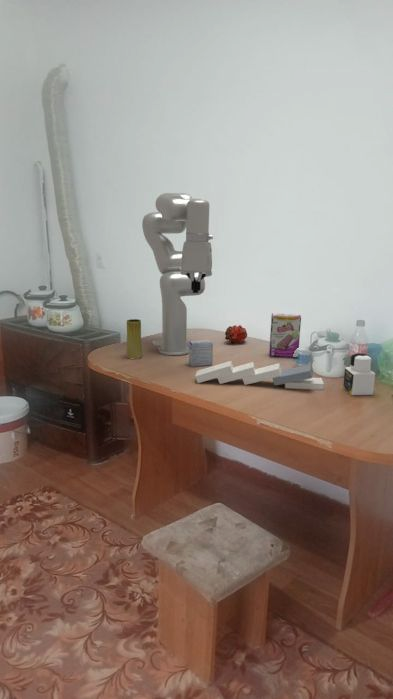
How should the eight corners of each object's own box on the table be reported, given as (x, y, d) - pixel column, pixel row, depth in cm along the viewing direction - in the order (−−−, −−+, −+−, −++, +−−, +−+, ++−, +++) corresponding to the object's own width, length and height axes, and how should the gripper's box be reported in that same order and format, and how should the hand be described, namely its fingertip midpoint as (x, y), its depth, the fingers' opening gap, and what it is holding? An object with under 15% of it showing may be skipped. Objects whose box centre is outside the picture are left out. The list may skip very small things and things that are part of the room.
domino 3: (242, 377, 167) (278, 369, 163) (244, 371, 173) (279, 363, 169) (244, 384, 168) (280, 376, 164) (247, 378, 173) (281, 370, 170)
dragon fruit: (222, 348, 218) (243, 348, 225) (235, 340, 211) (256, 340, 219) (217, 330, 220) (238, 330, 228) (229, 321, 214) (250, 322, 222)
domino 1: (195, 376, 168) (230, 365, 166) (197, 370, 174) (231, 360, 172) (197, 383, 169) (232, 372, 166) (199, 377, 174) (233, 367, 172)
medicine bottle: (342, 387, 166) (346, 351, 163) (364, 387, 167) (368, 351, 164) (351, 395, 159) (354, 358, 156) (373, 395, 160) (377, 357, 157)
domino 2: (217, 377, 168) (253, 367, 166) (218, 371, 173) (253, 361, 171) (219, 384, 168) (255, 374, 166) (220, 378, 174) (255, 368, 172)
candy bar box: (269, 357, 200) (271, 315, 195) (268, 353, 204) (271, 313, 200) (298, 358, 199) (301, 316, 194) (297, 354, 203) (300, 313, 199)
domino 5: (285, 382, 165) (323, 383, 164) (284, 376, 171) (321, 377, 169) (285, 389, 165) (323, 391, 164) (284, 383, 171) (320, 385, 170)
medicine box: (208, 362, 192) (209, 339, 190) (212, 365, 188) (213, 342, 186) (188, 363, 190) (188, 340, 188) (191, 367, 186) (192, 343, 184)
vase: (145, 355, 199) (144, 319, 196) (138, 360, 194) (137, 322, 190) (130, 354, 201) (129, 318, 198) (123, 358, 196) (122, 321, 192)
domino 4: (272, 378, 165) (309, 370, 160) (275, 371, 170) (311, 364, 166) (274, 385, 165) (311, 378, 161) (277, 378, 171) (313, 371, 166)
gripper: (220, 238, 175) (218, 291, 181) (177, 236, 177) (176, 289, 182) (218, 240, 168) (216, 295, 173) (173, 238, 170) (172, 293, 175)
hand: (195, 292), depth 178 cm, fingers closed
